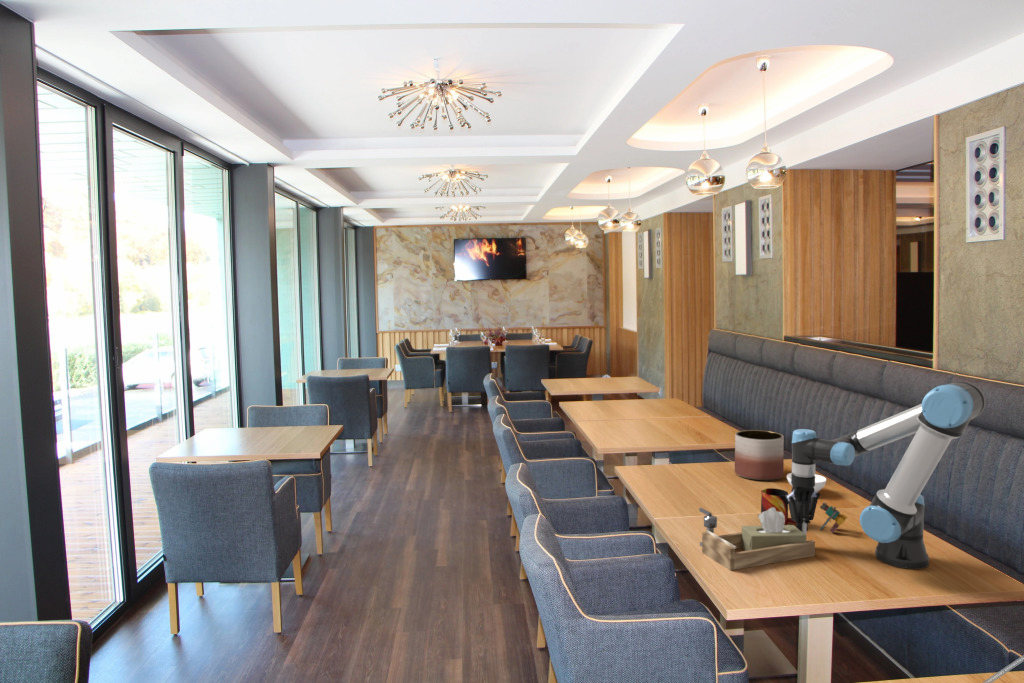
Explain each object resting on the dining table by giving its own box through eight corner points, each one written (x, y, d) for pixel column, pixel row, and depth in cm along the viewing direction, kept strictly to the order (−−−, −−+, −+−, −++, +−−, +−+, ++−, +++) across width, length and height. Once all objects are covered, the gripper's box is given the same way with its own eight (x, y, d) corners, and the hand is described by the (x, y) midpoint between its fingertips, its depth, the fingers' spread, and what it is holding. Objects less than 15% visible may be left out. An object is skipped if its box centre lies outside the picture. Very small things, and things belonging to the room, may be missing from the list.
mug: (802, 527, 244) (803, 496, 243) (764, 526, 246) (764, 495, 245) (795, 518, 254) (795, 488, 253) (758, 517, 256) (758, 488, 255)
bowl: (831, 499, 276) (831, 483, 276) (791, 498, 279) (792, 482, 278) (819, 488, 292) (820, 472, 292) (782, 487, 295) (782, 471, 294)
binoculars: (828, 540, 237) (845, 520, 233) (806, 522, 241) (822, 503, 237) (834, 532, 244) (850, 513, 241) (812, 515, 249) (828, 496, 245)
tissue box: (794, 547, 227) (794, 503, 226) (806, 558, 217) (807, 512, 216) (740, 548, 227) (740, 503, 226) (750, 559, 217) (751, 513, 216)
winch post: (720, 548, 226) (720, 514, 225) (708, 550, 224) (708, 516, 223) (706, 539, 234) (706, 507, 233) (694, 541, 232) (694, 508, 232)
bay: (814, 555, 218) (815, 533, 218) (730, 570, 208) (730, 547, 208) (782, 539, 233) (782, 518, 232) (702, 552, 223) (702, 530, 222)
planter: (770, 468, 325) (770, 429, 324) (792, 481, 303) (792, 438, 302) (727, 470, 324) (727, 430, 323) (746, 482, 302) (746, 440, 301)
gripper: (810, 469, 230) (809, 534, 232) (780, 473, 226) (778, 538, 228) (826, 475, 223) (825, 542, 225) (795, 479, 219) (794, 547, 221)
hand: (801, 540), depth 226 cm, fingers closed
